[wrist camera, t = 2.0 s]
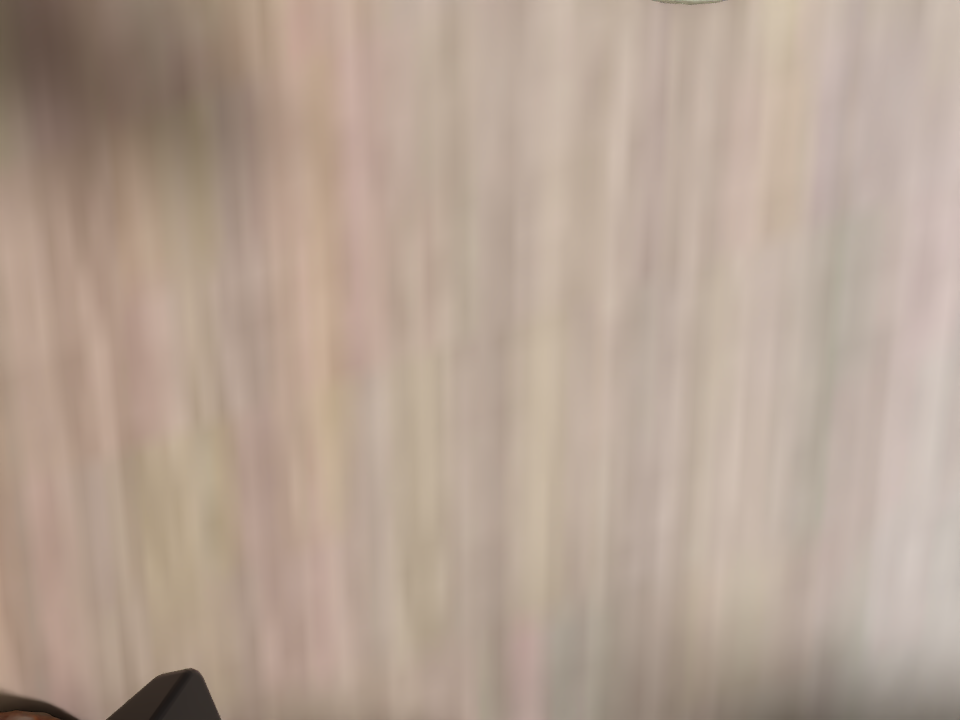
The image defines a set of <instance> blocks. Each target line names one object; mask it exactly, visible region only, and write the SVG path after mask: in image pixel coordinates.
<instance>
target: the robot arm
mask: <svg viewBox="0 0 960 720" xmlns="http://www.w3.org/2000/svg"><path fill="white" fill-rule="evenodd" d="M106 720H221V718H220V716H219V713H218V711H217V709H216V706H215V704H214V702H213V699H212V697H211V695H210V692H209V690H208V688H207V685H206V683H205V681H204V679H203V677H202V675H201V674H200V673H199V672H198V671H197V670H195V669H192V668H189V669H184V670H179V671H174V672H169V673H165V674H161V675H159V676H157V677H155V678H154V679H153V680H152V681H151V682H149V683H148V684H147V685H146V686H145V687H144V688H142V689H141V690H140V691H139V692H138V693H137V694H135V695H134V696H133V697H132V698H131V699H130V700H128V701H127V702H126V703H125V704H124V705H123V706H122V707H120V708H119V709H118V710H117V711H116V712H115V713H113V714H112V715H111V716H110V717H109V718H108V719H106Z"/></svg>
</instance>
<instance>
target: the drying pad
mask: <svg viewBox="0 0 960 720" xmlns="http://www.w3.org/2000/svg"><path fill="white" fill-rule="evenodd" d="M653 1H658V2H663V3H673V4H689V5H692V4H704V3H717V2H721V1H726V0H653Z"/></svg>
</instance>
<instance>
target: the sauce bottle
mask: <svg viewBox="0 0 960 720" xmlns="http://www.w3.org/2000/svg"><path fill="white" fill-rule="evenodd" d="M0 720H61V719H59V718H56V717H53V716H51V715H50V714H48V713H45V712H26V711H19V710H14V711H10V712H0Z"/></svg>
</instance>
